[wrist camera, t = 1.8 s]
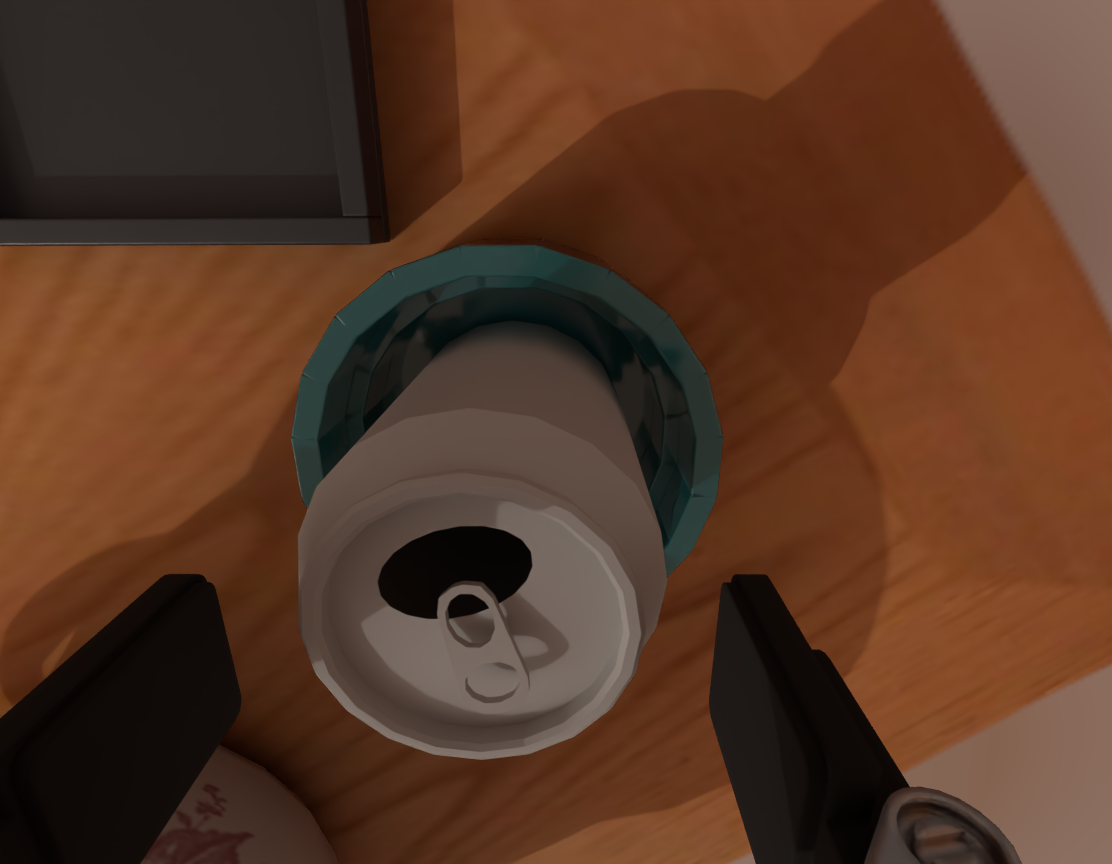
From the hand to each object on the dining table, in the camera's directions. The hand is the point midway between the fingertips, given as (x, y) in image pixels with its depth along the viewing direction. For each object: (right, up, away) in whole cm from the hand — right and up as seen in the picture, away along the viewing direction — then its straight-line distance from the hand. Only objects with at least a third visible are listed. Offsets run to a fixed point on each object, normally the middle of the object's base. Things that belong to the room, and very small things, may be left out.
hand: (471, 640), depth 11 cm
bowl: (0, +5, +11) cm, 12 cm away
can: (0, +4, +11) cm, 12 cm away
